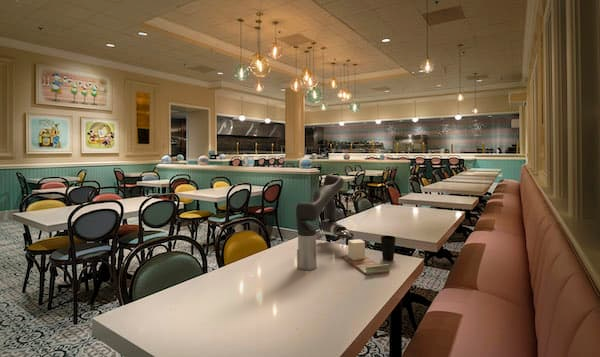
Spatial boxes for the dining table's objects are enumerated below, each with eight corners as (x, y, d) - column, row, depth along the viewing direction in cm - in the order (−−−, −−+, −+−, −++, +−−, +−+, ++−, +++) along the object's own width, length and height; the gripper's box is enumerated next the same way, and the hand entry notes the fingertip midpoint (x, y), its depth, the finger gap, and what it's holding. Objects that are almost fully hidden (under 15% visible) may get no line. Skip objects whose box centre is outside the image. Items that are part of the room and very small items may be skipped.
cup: (397, 261, 183) (397, 239, 182) (382, 261, 183) (382, 239, 182) (393, 256, 190) (393, 235, 189) (379, 257, 191) (379, 235, 189)
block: (348, 256, 189) (348, 240, 188) (359, 255, 191) (359, 239, 190) (353, 260, 183) (353, 243, 182) (365, 258, 185) (365, 242, 184)
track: (341, 257, 191) (341, 250, 191) (361, 255, 194) (361, 248, 194) (366, 275, 163) (366, 267, 163) (389, 272, 167) (389, 264, 166)
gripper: (328, 225, 207) (340, 232, 191) (348, 223, 211) (361, 230, 195) (328, 237, 208) (340, 246, 192) (348, 235, 212) (361, 243, 195)
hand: (351, 238), depth 193 cm, fingers closed
